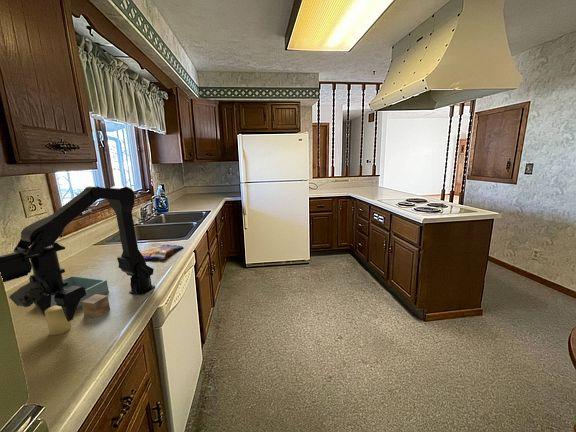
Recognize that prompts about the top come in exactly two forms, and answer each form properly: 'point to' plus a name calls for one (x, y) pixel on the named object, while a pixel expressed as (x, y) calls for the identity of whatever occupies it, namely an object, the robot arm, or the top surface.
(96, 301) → the walnut cube
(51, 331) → the yellow teardrop shape
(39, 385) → the top surface
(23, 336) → the top surface
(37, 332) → the top surface
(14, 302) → the robot arm
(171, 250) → the food package
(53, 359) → the top surface
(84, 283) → the tote
